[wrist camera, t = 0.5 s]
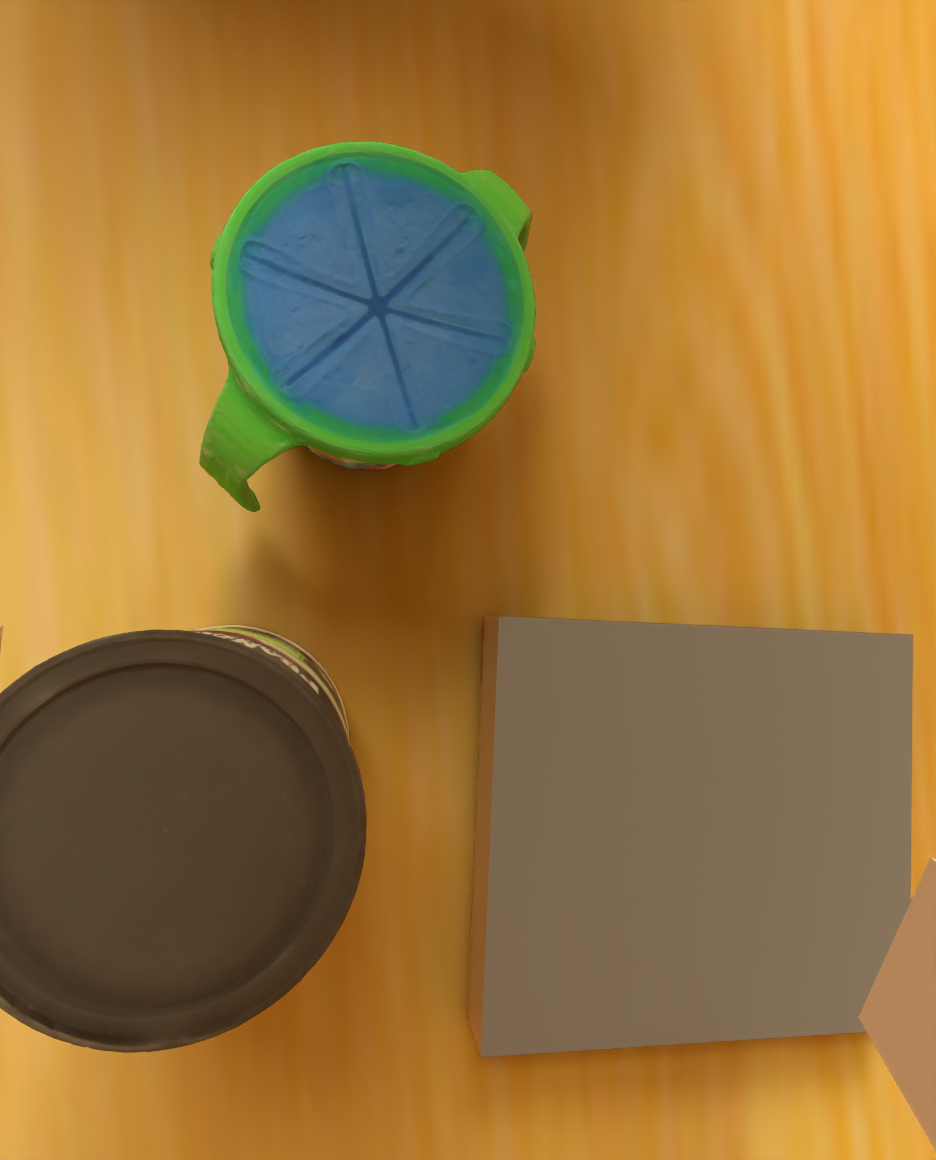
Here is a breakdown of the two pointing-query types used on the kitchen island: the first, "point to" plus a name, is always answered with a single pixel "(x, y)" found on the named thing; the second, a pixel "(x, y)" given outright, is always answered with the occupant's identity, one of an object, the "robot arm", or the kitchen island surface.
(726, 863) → the slate plinth
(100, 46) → the kitchen island surface
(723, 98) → the kitchen island surface
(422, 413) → the snack cup
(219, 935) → the coffee can
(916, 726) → the kitchen island surface
